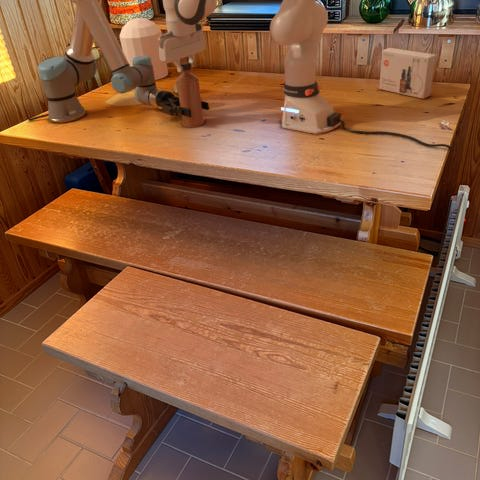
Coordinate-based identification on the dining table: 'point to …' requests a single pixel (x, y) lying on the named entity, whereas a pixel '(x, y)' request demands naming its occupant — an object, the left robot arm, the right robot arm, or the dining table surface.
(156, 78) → the container
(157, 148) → the dining table surface
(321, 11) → the right robot arm
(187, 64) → the cap
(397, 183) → the dining table surface
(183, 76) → the bottle
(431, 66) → the skincare box
